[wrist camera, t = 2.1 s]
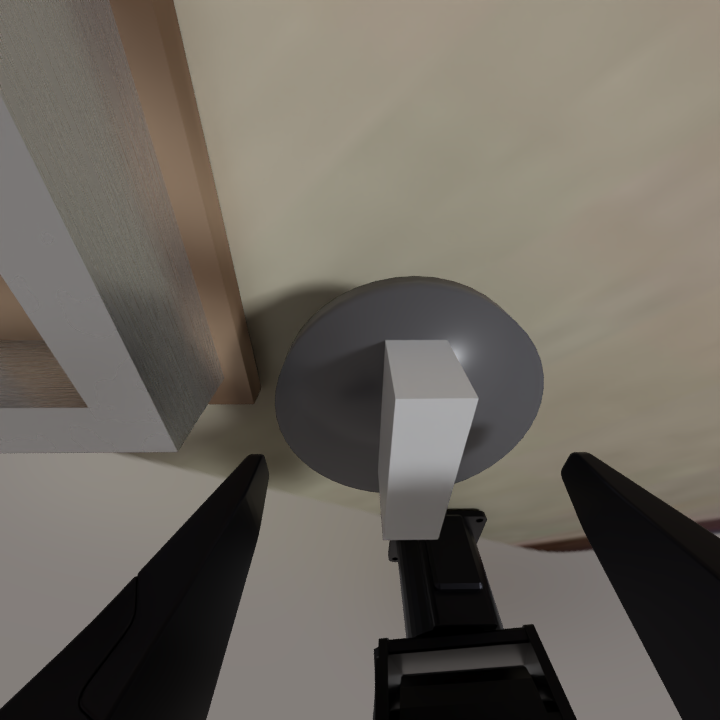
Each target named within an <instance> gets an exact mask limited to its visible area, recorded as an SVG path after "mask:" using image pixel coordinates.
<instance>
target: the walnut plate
mask: <svg viewBox="0 0 720 720" xmlns="http://www.w3.org/2000/svg"><path fill="white" fill-rule="evenodd" d="M109 2H110V5H111V9H112V12H113V15H114V18H115V22H116V25H117V28H118V31H119V35H120V38H121V41H122V45H123V48H124V51H125V54H126V58H127V61H128V64H129V67H130V71H131V74H132V77H133V81H134V84H135V87H136V90H137V94H138V97H139V100H140V103H141V107H142V110H143V113H144V117H145V120H146V123H147V126H148V130H149V133H150V136H151V139H152V143H153V146H154V149H155V153H156V156H157V159H158V162H159V166H160V169H161V172H162V175H163V179H164V182H165V185H166V188H167V192H168V195H169V198H170V202H171V205H172V208H173V211H174V215H175V218H176V221H177V224H178V228H179V231H180V234H181V238H182V241H183V244H184V247H185V251H186V254H187V257H188V260H189V264H190V267H191V270H192V274H193V277H194V280H195V283H196V287H197V290H198V293H199V296H200V300H201V303H202V306H203V310H204V313H205V316H206V319H207V323H208V326H209V329H210V332H211V336H212V339H213V342H214V345H215V349H216V352H217V355H218V359H219V362H220V365H221V368H222V372H223V375H224V380H223V381H222V383H221V384H220V386H219V388H218V389H217V391H216V392H215V394H214V395H213V397H212V399H211V400H210V402H209V403H208V404H254V403H255V401H256V399H257V396H258V394H259V392H260V390H261V385H260V381H259V376H258V372H257V368H256V363H255V359H254V354H253V350H252V346H251V341H250V337H249V332H248V328H247V324H246V319H245V315H244V310H243V306H242V302H241V297H240V293H239V288H238V284H237V280H236V275H235V271H234V266H233V262H232V258H231V253H230V249H229V244H228V240H227V236H226V231H225V227H224V222H223V218H222V214H221V209H220V205H219V200H218V196H217V191H216V187H215V183H214V178H213V174H212V169H211V165H210V161H209V156H208V152H207V147H206V143H205V139H204V134H203V130H202V125H201V121H200V117H199V112H198V108H197V103H196V99H195V95H194V90H193V86H192V81H191V77H190V73H189V68H188V64H187V59H186V55H185V51H184V46H183V42H182V37H181V33H180V29H179V24H178V20H177V15H176V11H175V7H174V2H173V0H109ZM0 340H43V338H42V337H41V335H40V334H39V332H38V331H37V329H36V328H35V326H34V325H33V323H32V321H31V320H30V318H29V317H28V315H27V314H26V312H25V311H24V309H23V308H22V306H21V305H20V303H19V302H18V300H17V299H16V297H15V296H14V294H13V293H12V291H11V290H10V288H9V287H8V285H7V284H6V282H5V281H4V279H3V278H2V276H1V275H0Z"/></svg>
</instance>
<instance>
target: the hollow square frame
mask: <svg viewBox="0 0 720 720" xmlns="http://www.w3.org/2000/svg"><path fill="white" fill-rule="evenodd" d="M0 275H1V276H2V278H3V279H4V281H5V282H6V284H7V285H8V287H9V288H10V290H11V291H12V293H13V294H14V296H15V297H16V299H17V300H18V302H19V303H20V305H21V306H22V308H23V309H24V311H25V312H26V314H27V315H28V317H29V318H30V320H31V321H32V323H33V325H34V326H35V328H36V329H37V331H38V332H39V334H40V335H41V337H42V338H43V340H0V453H76V452H77V453H83V452H84V453H85V452H86V453H88V452H89V453H92V452H93V453H94V452H178V451H179V449H180V447H181V446H182V444H183V443H184V441H185V440H186V438H187V436H188V435H189V433H190V432H191V430H192V428H193V427H194V425H195V424H196V422H197V421H198V419H199V417H200V416H201V414H202V413H203V411H204V410H205V408H206V406H207V405H208V403H209V402H210V400H211V399H212V397H213V395H214V394H215V392H216V391H217V389H218V388H219V386H220V384H221V383H222V381H223V380H224V375H223V372H222V368H221V365H220V362H219V359H218V355H217V352H216V349H215V345H214V342H213V339H212V336H211V332H210V329H209V326H208V323H207V319H206V316H205V313H204V310H203V306H202V303H201V300H200V296H199V293H198V290H197V287H196V283H195V280H194V277H193V274H192V270H191V267H190V264H189V260H188V257H187V254H186V251H185V247H184V244H183V241H182V238H181V234H180V231H179V228H178V224H177V221H176V218H175V215H174V211H173V208H172V205H171V202H170V198H169V195H168V192H167V188H166V185H165V182H164V179H163V175H162V172H161V169H160V166H159V162H158V159H157V156H156V153H155V149H154V146H153V143H152V139H151V136H150V133H149V130H148V126H147V123H146V120H145V117H144V113H143V110H142V107H141V103H140V100H139V97H138V94H137V90H136V87H135V84H134V81H133V77H132V74H131V71H130V67H129V64H128V61H127V58H126V54H125V51H124V48H123V45H122V41H121V38H120V35H119V31H118V28H117V25H116V22H115V18H114V15H113V12H112V9H111V5H110V2H109V0H0Z"/></svg>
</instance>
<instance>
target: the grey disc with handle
mask: <svg viewBox="0 0 720 720" xmlns="http://www.w3.org/2000/svg"><path fill="white" fill-rule="evenodd" d="M543 389H544V374H543V369H542V364H541V360H540V357H539V355H538V352H537V349H536V347H535V345H534V344H533V342H532V341H531V339H530V338H529V336H528V334H527V333H526V332H525V331H524V330H523V329H522V328H521V327H520V326H519V325H518V324H517V322H516V321H514V320H513V319H512V318H511V317H510V316H509V315H508V314H507V313H506V312H505V311H504V310H503V309H502V308H501V307H500V306H499V305H497V304H496V303H495V302H493V301H492V300H491V299H489V298H488V297H487V296H486V295H484V294H482V293H480V292H478V291H476V290H474V289H473V288H471V287H468V286H465V285H462V284H460V283H457V282H454V281H450V280H445V279H440V278H435V277H421V276H408V277H394V278H389V279H384V280H379V281H375V282H372V283H369V284H366V285H363V286H360V287H357V288H355V289H352V290H350V291H348V292H346V293H344V294H342V295H340V296H338V297H337V298H335V299H334V300H332V301H331V302H329V303H328V304H326V305H325V306H323V307H322V308H321V309H320V310H319V311H318V312H317V313H315V314H314V315H313V316H312V317H311V318H310V319H309V320H308V322H307V323H306V324H305V325H304V326H303V327H302V329H301V330H300V331H299V333H298V334H297V336H296V338H295V339H294V341H293V342H292V345H291V347H290V349H289V352H288V354H287V357H286V359H285V362H284V365H283V367H282V370H281V373H280V375H279V379H278V383H277V387H276V395H275V409H276V417H277V421H278V424H279V427H280V430H281V432H282V434H283V436H284V438H285V440H286V442H287V443H288V445H289V446H290V448H291V449H292V451H293V452H294V453H295V454H296V455H297V456H298V457H299V458H300V459H301V460H302V461H303V462H304V463H305V464H307V465H308V466H309V467H310V468H312V469H313V470H315V471H316V472H318V473H319V474H321V475H323V476H324V477H326V478H328V479H330V480H332V481H335V482H337V483H340V484H342V485H345V486H349V487H352V488H355V489H360V490H365V491H370V492H378V493H380V506H381V519H382V533H383V540H438V538H439V534H440V531H441V528H442V524H443V521H444V517H445V514H446V510H447V507H448V503H449V500H450V496H451V493H452V489H453V486H454V484H455V483H458V482H460V481H463V480H466V479H468V478H470V477H472V476H474V475H476V474H478V473H480V472H482V471H484V470H485V469H487V468H489V467H490V466H492V465H493V464H495V463H496V462H497V461H499V460H500V459H502V458H503V457H504V456H505V455H506V454H507V453H509V452H510V451H511V450H512V449H513V448H514V447H515V446H516V445H517V444H518V442H519V441H520V440H521V439H522V438H523V437H524V435H525V434H526V432H527V431H528V430H529V428H530V427H531V425H532V423H533V421H534V419H535V417H536V415H537V412H538V410H539V407H540V404H541V400H542V395H543Z"/></svg>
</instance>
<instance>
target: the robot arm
mask: <svg viewBox="0 0 720 720" xmlns="http://www.w3.org/2000/svg"><path fill="white" fill-rule="evenodd" d="M561 476H562V479H563V482H564V484H565V487H566V489H567V492H568V494H569V496H570V499H571V501H572V504H573V506H574V509H575V511H576V514H577V516H578V518H579V521H580V523H581V525H582V528H583V530H584V532H585V534H586V536H587V538H588V540H589V542H590V544H591V546H592V548H593V550H594V552H595V553H596V555H597V557H598V559H599V561H600V563H601V565H602V567H603V569H604V571H605V573H606V575H607V576H608V578H609V580H610V582H611V584H612V586H613V588H614V590H615V592H616V593H617V595H618V597H619V599H620V601H621V603H622V605H623V607H624V609H625V611H626V613H627V615H628V616H629V619H630V620H631V622H632V624H633V626H634V628H635V630H636V632H637V634H638V636H639V638H640V639H641V641H642V643H643V645H644V647H645V649H646V651H647V653H648V655H649V656H650V659H651V661H652V662H653V664H654V666H655V668H656V670H657V672H658V674H659V676H660V678H661V680H662V682H663V684H664V685H665V687H666V689H667V691H668V693H669V695H670V697H671V699H672V701H673V702H674V705H675V706H676V708H677V710H678V712H679V714H680V716H681V718H682V720H720V538H719V537H717V536H716V535H714V534H713V533H711V532H709V531H708V530H706V529H705V528H703V527H702V526H700V525H699V524H697V523H696V522H694V521H693V520H691V519H690V518H688V517H687V516H685V515H683V514H682V513H680V512H679V511H677V510H676V509H674V508H673V507H671V506H670V505H668V504H667V503H665V502H664V501H662V500H660V499H659V498H657V497H656V496H654V495H653V494H651V493H650V492H648V491H647V490H645V489H644V488H642V487H641V486H639V485H637V484H636V483H634V482H633V481H631V480H630V479H628V478H627V477H625V476H624V475H622V474H621V473H619V472H618V471H616V470H615V469H613V468H611V467H610V466H608V465H607V464H605V463H604V462H602V461H601V460H599V459H598V458H596V457H595V456H593V455H591V454H590V453H587V452H573V453H571V454H570V456H569V457H568V459H567V461H566V463H565V464H564V466H563V468H562V470H561ZM268 480H269V472H268V468H267V464H266V460H265V457H264V455H262V454H251V455H249V456H247V457H246V458H245V459H244V460H243V461H242V462H241V464H240V465H239V466H238V467H237V468H236V469H235V470H234V471H233V472H232V473H231V474H230V475H229V476H228V477H227V479H226V480H225V481H224V482H223V483H222V484H221V485H220V486H219V487H218V488H217V489H216V490H215V491H214V493H213V494H212V495H211V496H210V497H209V498H208V499H207V500H206V501H205V502H204V503H203V504H202V505H201V506H200V507H199V509H198V510H197V511H196V512H195V513H194V514H193V515H192V516H191V517H190V518H189V519H188V521H186V522H185V524H184V525H183V526H182V527H181V528H180V529H179V530H178V531H177V532H176V533H175V534H174V535H173V536H172V537H171V538H170V540H169V541H168V542H167V543H166V544H165V545H164V546H163V547H162V548H161V549H160V550H159V551H158V552H157V553H156V555H155V556H154V557H153V558H152V559H151V560H150V561H149V562H148V563H147V564H146V565H145V566H144V567H143V568H142V569H141V571H140V572H139V573H138V576H136V577H134V578H133V579H132V580H131V581H130V582H129V583H128V584H127V585H126V586H125V587H124V589H123V590H122V591H121V592H120V593H119V594H118V595H117V596H116V597H115V598H114V599H113V600H112V601H111V602H110V603H109V604H108V605H107V606H106V607H105V608H104V610H102V612H101V613H100V614H99V615H98V616H97V617H96V618H95V619H94V620H93V621H92V622H91V623H90V624H89V625H88V626H87V627H86V628H85V629H84V630H83V631H81V632H80V633H79V634H78V635H77V636H76V637H75V638H74V639H73V640H72V641H71V642H70V643H69V644H68V645H67V646H66V647H65V648H64V649H63V650H62V651H61V652H60V653H59V654H58V655H57V656H56V657H55V658H54V659H53V660H51V662H49V663H48V664H47V665H46V666H45V667H44V668H43V669H42V670H41V671H40V672H39V673H38V674H37V675H36V676H35V677H33V678H32V679H31V680H30V682H28V683H27V684H26V685H25V686H24V687H23V688H22V689H21V690H20V691H19V692H18V693H17V694H16V695H15V696H14V697H12V698H11V699H10V700H9V701H8V702H7V703H6V704H5V705H4V706H3V707H2V708H1V709H0V720H206V718H207V715H208V711H209V708H210V704H211V701H212V697H213V694H214V690H215V687H216V683H217V680H218V676H219V673H220V669H221V666H222V662H223V658H224V655H225V652H226V648H227V645H228V641H229V638H230V634H231V631H232V627H233V624H234V620H235V617H236V613H237V610H238V606H239V602H240V599H241V596H242V592H243V589H244V585H245V582H246V578H247V574H248V571H249V568H250V564H251V560H252V557H253V554H254V550H255V547H256V543H257V539H258V535H259V530H260V526H261V520H262V514H263V509H264V503H265V497H266V491H267V486H268ZM486 521H487V518H486V515H485V513H484V512H483V511H446V514H445V517H444V521H443V524H442V528H441V531H440V534H439V538H438V540H390V543H389V551H388V556H389V560H390V561H392V562H398V564H399V574H400V584H401V593H402V602H403V611H404V620H405V630H406V638H403V639H393V640H389V639H388V638H383V639H382V638H381V639H379V647H377V648H376V649H374V663H375V700H374V712H373V720H577V719H576V717H575V715H574V712H573V710H572V708H571V706H570V704H569V701H568V699H567V697H566V695H565V693H564V690H563V688H562V686H561V684H560V682H559V680H558V677H557V675H556V673H555V671H554V669H553V666H552V664H551V662H550V660H549V658H548V655H547V653H546V651H545V649H544V647H543V645H542V642H541V640H540V638H539V636H538V633H537V631H536V629H535V627H534V625H533V624H530V625H523V627H522V628H511V629H504V628H503V625H502V623H501V619H500V616H499V613H498V610H497V607H496V603H495V600H494V597H493V594H492V591H491V588H490V585H489V582H488V579H487V576H486V572H485V570H484V566H483V563H482V560H481V557H480V554H479V551H478V548H477V542H478V539H479V537H480V535H481V533H482V530H483V528H484V526H485V523H486ZM523 665H524V666H523Z"/></svg>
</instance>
